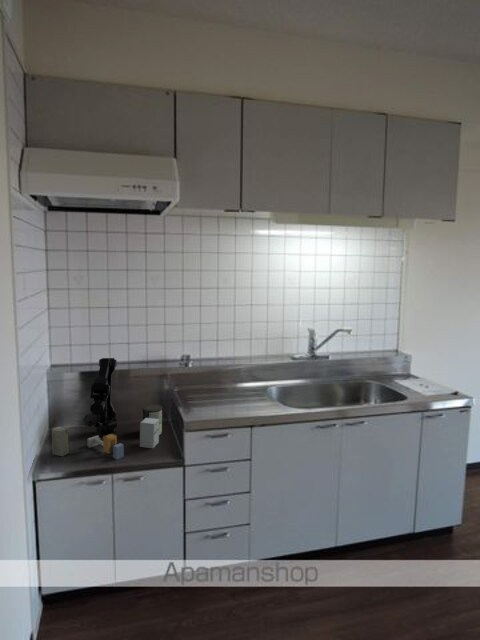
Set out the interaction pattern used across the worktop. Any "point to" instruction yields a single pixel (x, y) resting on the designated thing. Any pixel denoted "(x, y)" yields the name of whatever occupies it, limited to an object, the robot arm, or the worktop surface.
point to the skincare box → (60, 441)
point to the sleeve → (109, 442)
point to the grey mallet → (115, 449)
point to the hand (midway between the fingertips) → (100, 438)
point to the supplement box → (149, 432)
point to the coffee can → (153, 413)
